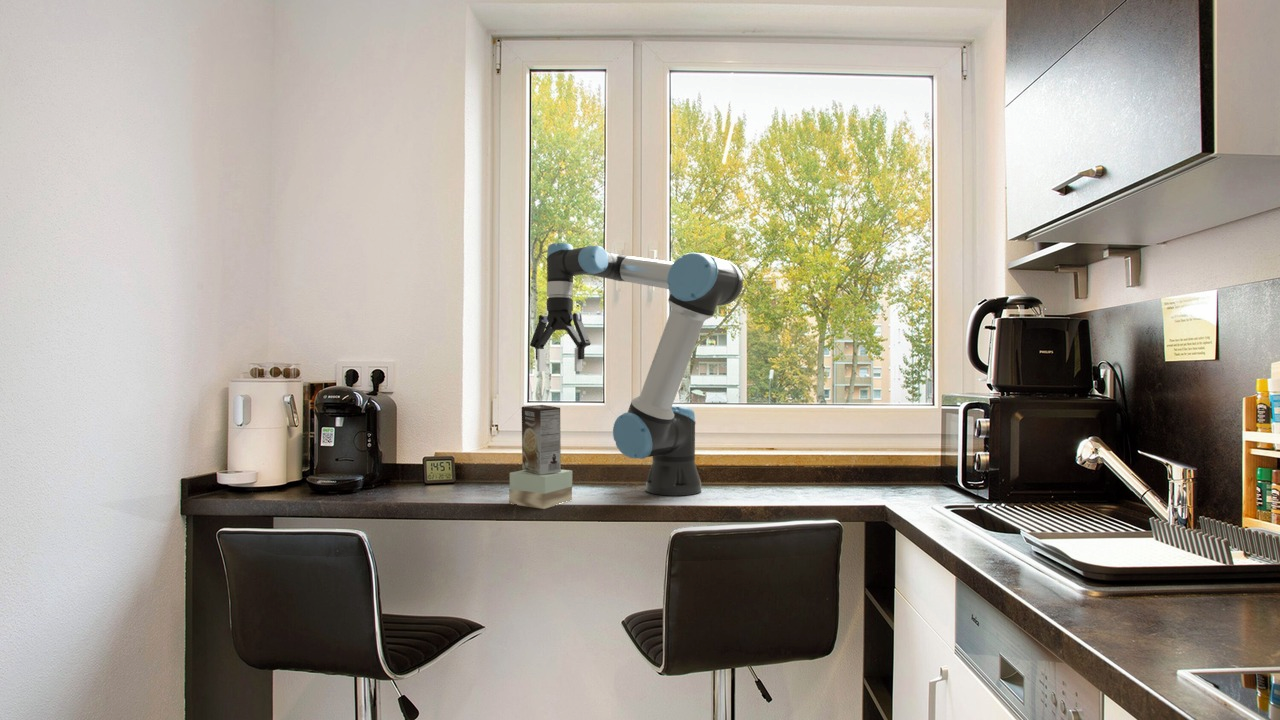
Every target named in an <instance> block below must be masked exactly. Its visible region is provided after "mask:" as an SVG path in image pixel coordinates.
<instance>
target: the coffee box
mask: <svg viewBox="0 0 1280 720" xmlns="http://www.w3.org/2000/svg"><path fill="white" fill-rule="evenodd" d="M561 444H562V443H561V407H559V406H552V405H545V404H539V405H527V406H521V448H522V449H521V453H522V454H521V456H522V457H521V462H522V463H521V464H522V470H525V471H529V472H532V473H535V474H538V475H544V474H550V473H556V472H561V467H562V463H561V462H562V461H561V457H562V455H561V453H562V451H561V449H562V448H561V446H562V445H561Z"/></svg>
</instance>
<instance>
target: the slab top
mask: <svg viewBox="0 0 1280 720" xmlns="http://www.w3.org/2000/svg"><path fill="white" fill-rule="evenodd" d="M568 487H572V488H573V470H571V469H563V468H562V469H561V472H556V473H550V474H544V475H538V474H535V473H532V472H529V471H525V470H523V469H522V470H518V471H517V470H516V471H513V472H509V489H512V490H520V491H528V492H536V493H544V494H546V493H550V492H553V491H557V490H561V489H565V488H568Z"/></svg>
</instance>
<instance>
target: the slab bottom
mask: <svg viewBox="0 0 1280 720" xmlns="http://www.w3.org/2000/svg"><path fill="white" fill-rule="evenodd" d="M508 493H509V494H508V504H509V503H512V504H511V505H514V504H517V505H516V506H522V507H529V508H536V509H542V510H543V509H544V510H545V509H548V508H551V507H552V508H553V507H555V505H556V504H559V503H562V502H566V501H570V500H572V501H573V486H572V487H568V488H565V489H561V490H557V491H553V492H550V493H546V494H544V493H536V492H528V491H520V490H512V489H510V488H509V491H508ZM570 502H571V501H570ZM566 503H567V502H566ZM559 505H560V504H559ZM556 506H557V505H556Z"/></svg>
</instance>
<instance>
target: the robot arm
mask: <svg viewBox="0 0 1280 720" xmlns="http://www.w3.org/2000/svg"><path fill="white" fill-rule="evenodd" d="M546 253H547V255H546V296H547V299H546V311H547V315H545V314H544V315H543V314H540V315H538V323H537V326H536V328H535V330H534V333H533V336H532V338H531V341H530V344H529V345H530V347H532V348H534V349H535V359H536V362H537V365H536V366H537V367H536V368H537V372H546V348H545V345H546V344H547V343H548V341H549V339H550V338H551V336H552V335H553V333H554V332H556V331H566V333H567V334H568V335H569V338H570V339H571V340H572V342H573V343H574V344H575V347H574V372H583V360H585V348H586V347H589V346H591V341H590V338H589V336H588V335H589V334H588V333H587V330H586V328H585V325H584V323H583V321H582V320H583V318H582V314H581V313H577V312H574V313H572V312H573V309H574V299H573V298H572V297H574V277H577V276H584V275H585V276H586V275H587V276H592V277H598V278H602V279H607V280H608V279H609V280H613V281H618V282H626V283H631V284H638V285H641V286H642V285H644V286H648V287H655V288H660V289H665V290H668V291H669V292H670V294H669V297H668V300H667V301H668V304H669V306H670V308H671V309H670V312H669V315H668V318H667V321H666V323H665V326H664V329H663V331H662V334H661V336H660V340H659V342H658V345H657V348H656V350H655V353H654V355H653V359H652V362H651V364H650V367H649V370H648V372H647V375H646V378H645V381H644V384H643V386H642V389H641V392H640V394H639V396H637V397H634V398H632V399H631V402H630V405H629V407H628V410H627V412H623V413H622V414H621V415H619V416H618V417H616V419H615V421H614V423H613V426H612V436H613V441H614V442H615V446H616V448H617V449H618V451H619V452H620V453H621V454H622V455H624V456H625V457H626V458H629V459H633V460H635V459H636V460H637V459H640V460H641V459H642V460H643V459H646V458H649V457H650V458H651V457H652V463H651V467H650V469H649V472H648V476H647V477H646V480H645V481H646V482H645V490H646V492H648V493H650V494H654V495H659V496H660V495H662V496H689V495H695V494H699V493H701V492H702V482H701V478H700V475H699V471H698V468H697V464H696V415H695V411H694V409H692V408H690V407H685V406H675V405H673V404H674V402H675V400H676V397H677V394H678V391H679V388H680V386H681V383H682V381H683V378H684V375H685V373H686V370H687V367H688V365H689V362H690V360H691V357H692V355H693V351H694V350H695V346H696V344H697V342H698V338H699V336H700V333H701V330H702V328H703V326H704V323H705V321H706V320H708V319H711V318H712V317H713V316H714V314H715V311H716V309H717V306H718V307H720V306H721V307H723V306H726V305H729V304H731V303H733V302H734V301H735V300H737V299H738V297H739V296H740V295H741V292H742V290H743V285H744V284H743V283H744V280H743V279H744V278H743V274H742V272H741V270H740V269H739V267H737V266H736V264H734V263H733V262H732V261H729V260H727V259H722V258H718V257H716V256H712V255H710V254H708V253H704V252H703V253H702V252H688V253H685V254H682V255H681V256H679V257H678V258H677V259H676V260H675V261H667V260H660V259H652V258H646V257H638V256H632V255H631V256H630V255H624V254H620V253H619V254H618V253H613V252H608V251H606V250H605V249H604V247H603V246H601V245H587V246H582V247H579V248H578V247H577V248H574V246H573V245H572V244H571V243H568V242H567V243H566V242H558V243H557V242H554V243H550V244H549V245H548V247H547V251H546ZM572 322H573V323H572ZM573 324H574V325H573Z"/></svg>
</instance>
